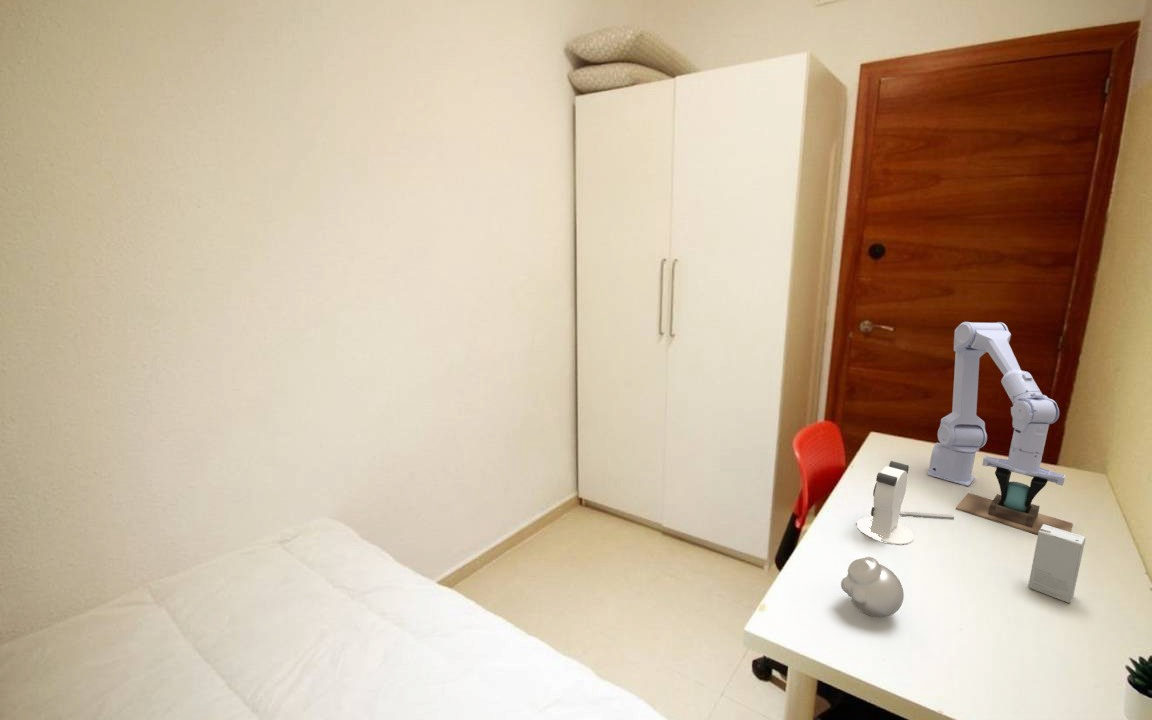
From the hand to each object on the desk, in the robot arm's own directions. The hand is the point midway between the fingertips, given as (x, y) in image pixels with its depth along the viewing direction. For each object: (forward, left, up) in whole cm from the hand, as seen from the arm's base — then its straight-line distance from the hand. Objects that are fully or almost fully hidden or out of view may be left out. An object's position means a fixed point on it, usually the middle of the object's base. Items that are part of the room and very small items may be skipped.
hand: (1015, 502), depth 122 cm
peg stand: (0, 0, -4) cm, 4 cm away
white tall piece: (-18, -30, -4) cm, 35 cm away
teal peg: (0, 0, -3) cm, 3 cm away
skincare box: (+10, -30, -4) cm, 32 cm away
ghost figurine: (-10, -62, -4) cm, 63 cm away
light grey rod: (-14, -16, -4) cm, 22 cm away
